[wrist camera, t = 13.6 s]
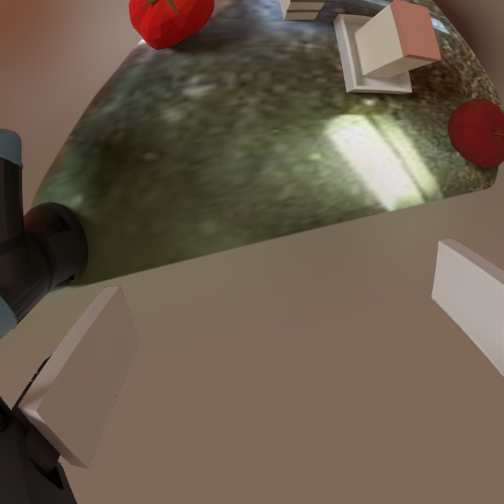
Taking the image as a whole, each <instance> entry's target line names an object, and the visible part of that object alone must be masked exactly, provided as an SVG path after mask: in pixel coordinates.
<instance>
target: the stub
mask: <svg viewBox="0 0 504 504" xmlns="http://www.w3.org/2000/svg"><path fill="white" fill-rule="evenodd" d="M353 37H354V41H355V46H356V51H357V56H358V61H359V66H360V72H361V76H366V77H384V78H389V77H391V76H394V75H397V74H400V73H403V72H406V71H409V70H412V69H415V68H418V67H421V66H424V65H427V64H430V63H433V62H437V61H440V60H441V57H440V52H439V48H438V44H437V40H436V36H435V32H434V28H433V25H432V21H431V18H430V15H429V12H428V9H427V7H423V6H419V5H415V4H411V3H407V2H402V1H398V0H394V1H393V2H391V3H390V4H389V5H388V6H386V7H385V8H384V9H383V10H381V11H380V12H379V13H378V14H377V15H375V16H374V17H373V18H372V19H371V20H369V21H368V22H367V23H366V24H365V25H364V26H362V27H361V28H360V29H359V30H358V31H357V32H356V33H354V34H353Z"/></svg>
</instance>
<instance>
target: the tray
mask: <svg viewBox="0 0 504 504" xmlns="http://www.w3.org/2000/svg"><path fill="white" fill-rule="evenodd" d="M372 18H373V17H368V16H359V15H348V14H338V16H337V17H336V18H335V19H334V21H333V24H334V28H335V32H336V37H337V41H338V46H339V51H340V56H341V61H342V67H343V72H344V78H345V84H346V91H347V92H364V93H390V94H406V93H410V92H412V88H411V82H410V76H409V71H406V72H403V73H400V74H397V75H394V76H391V77H389V78H384V77H366V76H361V72H360V66H359V61H358V56H357V51H356V46H355V41H354V37H353V34H354V33H356V32H357V31H358V30H359V29H360V28H361V27H362V26H364V25H365V24H366V23H367V22H368V21H369V20H371V19H372Z"/></svg>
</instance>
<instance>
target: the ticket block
mask: <svg viewBox="0 0 504 504" xmlns="http://www.w3.org/2000/svg"><path fill="white" fill-rule="evenodd" d="M326 2H327V0H280V4H281V9H282V13H283V18H284V20H314V19H315V18H316V16H317V15H318V13H320V11H321V8H322V7H323V5H324V4H325V3H326Z"/></svg>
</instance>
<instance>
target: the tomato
mask: <svg viewBox="0 0 504 504" xmlns="http://www.w3.org/2000/svg"><path fill="white" fill-rule="evenodd" d="M213 9H214V0H130V3H129V14H130V20H131V23H132V25H133V27H134V28H135V29H136V30H137V31H138V33H139V34H140V35H141V36H142V37H143V39H144V40H145V41H146V43H147V44H148V45H149V46H150V47H152V48H154V49H156V50H160V49H165V48H169V47H171V46H173V45H175V44H177V43H179V42H181V41H182V40H184V39H186V38H188V37H190V36H191V35H193V34H195V33H197V32H198V31H199V30H200V29H201V28H202V27H203V26H204V25H205V24H206V23H207V22H208V20H209V19H210V17H211V15H212V12H213Z"/></svg>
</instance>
